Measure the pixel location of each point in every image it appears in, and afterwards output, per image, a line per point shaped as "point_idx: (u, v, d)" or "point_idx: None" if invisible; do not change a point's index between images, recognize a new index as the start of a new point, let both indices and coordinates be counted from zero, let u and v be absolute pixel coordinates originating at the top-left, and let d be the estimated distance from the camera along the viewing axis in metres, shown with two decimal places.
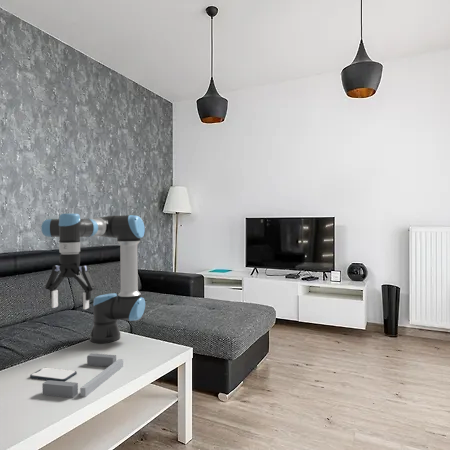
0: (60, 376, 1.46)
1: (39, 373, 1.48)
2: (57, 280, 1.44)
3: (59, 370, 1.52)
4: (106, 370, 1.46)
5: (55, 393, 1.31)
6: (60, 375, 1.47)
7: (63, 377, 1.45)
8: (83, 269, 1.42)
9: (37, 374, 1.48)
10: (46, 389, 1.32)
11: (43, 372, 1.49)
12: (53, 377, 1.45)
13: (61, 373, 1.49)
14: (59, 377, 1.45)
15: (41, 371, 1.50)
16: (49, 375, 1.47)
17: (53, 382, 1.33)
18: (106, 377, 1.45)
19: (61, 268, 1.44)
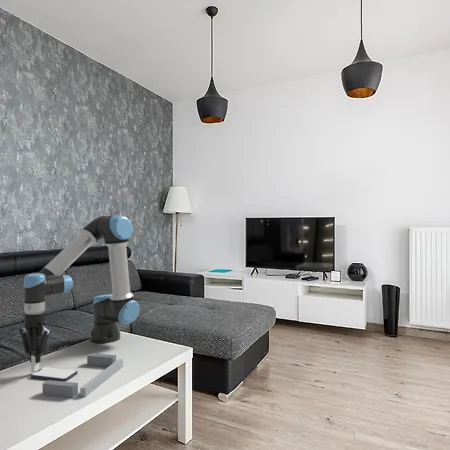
0: (61, 375, 1.46)
1: (40, 373, 1.48)
2: (30, 342, 1.50)
3: (60, 369, 1.52)
4: (106, 370, 1.46)
5: (55, 393, 1.31)
6: (61, 374, 1.47)
7: (64, 377, 1.45)
8: (45, 334, 1.48)
9: (38, 373, 1.48)
10: (46, 389, 1.32)
11: (44, 372, 1.49)
12: (54, 376, 1.45)
13: (62, 372, 1.49)
14: (60, 376, 1.45)
15: (42, 371, 1.50)
16: (50, 374, 1.47)
17: (53, 382, 1.33)
18: (106, 377, 1.45)
19: (26, 326, 1.50)
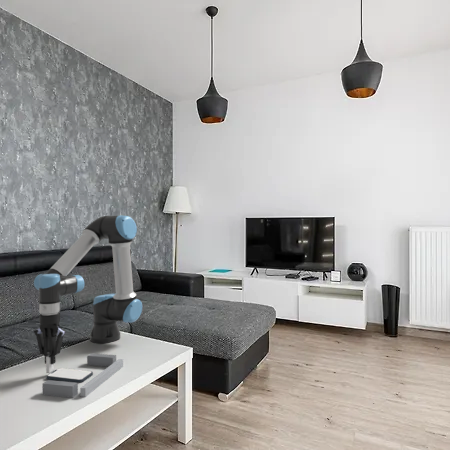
0: (77, 376, 1.45)
1: (55, 374, 1.47)
2: (45, 343, 1.48)
3: (75, 370, 1.50)
4: (106, 370, 1.46)
5: (55, 393, 1.31)
6: (77, 375, 1.46)
7: (80, 378, 1.44)
8: (60, 335, 1.47)
9: (53, 374, 1.46)
10: (46, 389, 1.32)
11: (59, 373, 1.48)
12: (70, 378, 1.44)
13: (77, 373, 1.47)
14: (76, 378, 1.44)
15: (57, 372, 1.49)
16: (66, 375, 1.46)
17: (53, 382, 1.33)
18: (106, 377, 1.45)
19: (41, 327, 1.49)
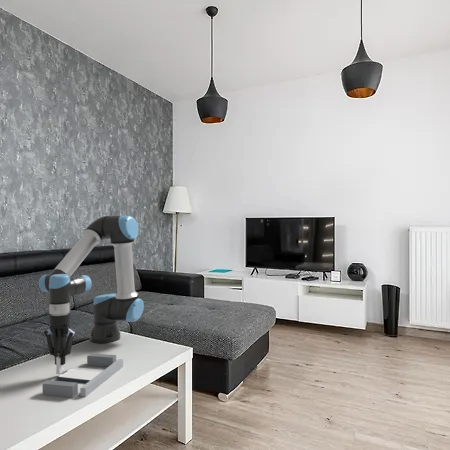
0: (88, 377, 1.44)
1: (66, 374, 1.46)
2: (55, 343, 1.47)
3: (85, 371, 1.50)
4: (106, 370, 1.46)
5: (55, 393, 1.31)
6: (88, 376, 1.45)
7: (91, 378, 1.43)
8: (70, 335, 1.46)
9: (64, 375, 1.46)
10: (46, 389, 1.32)
11: (70, 373, 1.47)
12: (81, 378, 1.43)
13: (88, 374, 1.47)
14: (87, 378, 1.43)
15: (67, 373, 1.48)
16: (77, 376, 1.45)
17: (53, 382, 1.33)
18: (106, 377, 1.45)
19: (51, 328, 1.48)
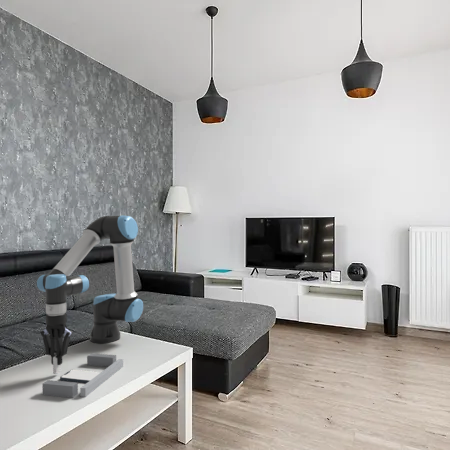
0: (91, 378, 1.44)
1: (69, 375, 1.46)
2: (51, 343, 1.48)
3: (88, 372, 1.49)
4: (106, 370, 1.46)
5: (55, 393, 1.31)
6: (91, 377, 1.45)
7: None
8: (67, 335, 1.46)
9: (67, 376, 1.45)
10: (46, 389, 1.32)
11: (73, 374, 1.47)
12: (84, 379, 1.43)
13: (91, 375, 1.47)
14: (90, 379, 1.43)
15: (70, 373, 1.48)
16: (80, 377, 1.45)
17: (53, 382, 1.33)
18: (106, 377, 1.45)
19: (48, 328, 1.48)
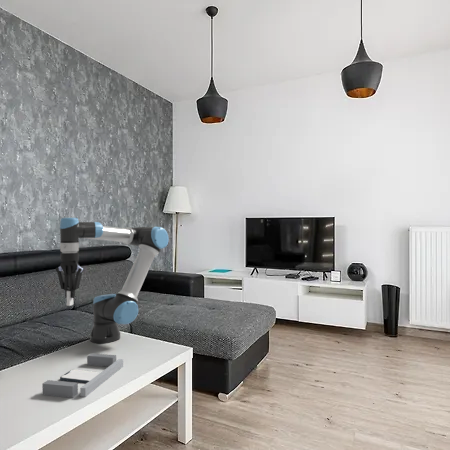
0: (91, 378, 1.44)
1: (69, 375, 1.46)
2: (65, 278, 1.65)
3: (88, 372, 1.49)
4: (106, 370, 1.46)
5: (55, 393, 1.31)
6: (91, 377, 1.45)
7: None
8: (79, 271, 1.64)
9: (67, 376, 1.46)
10: (46, 389, 1.32)
11: (73, 374, 1.47)
12: (84, 379, 1.43)
13: (91, 375, 1.47)
14: (90, 379, 1.43)
15: (70, 373, 1.48)
16: (80, 377, 1.45)
17: (53, 382, 1.33)
18: (106, 377, 1.45)
19: (62, 265, 1.66)
